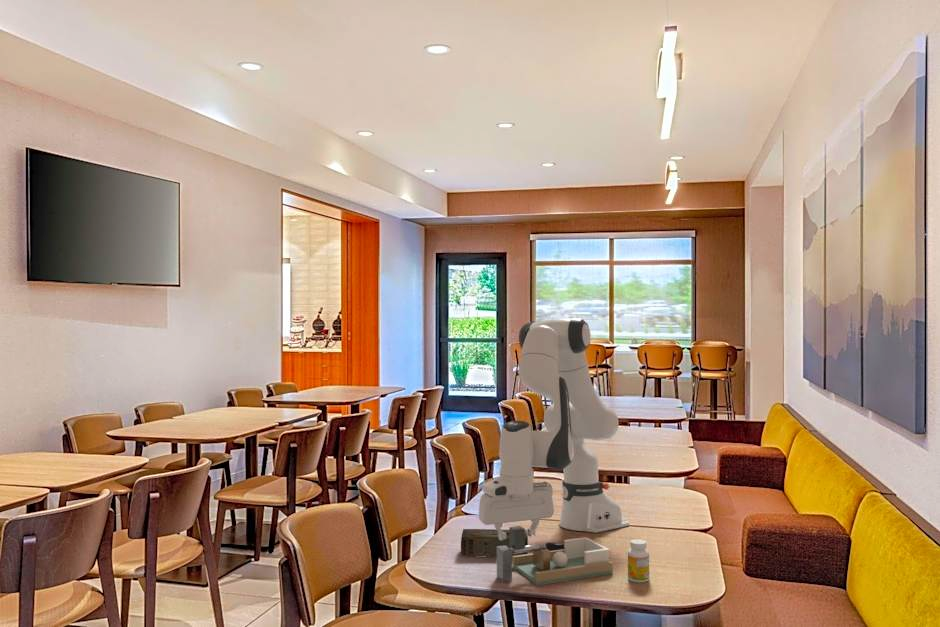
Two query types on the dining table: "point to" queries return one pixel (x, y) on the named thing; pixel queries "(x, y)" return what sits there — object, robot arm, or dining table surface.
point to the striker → (529, 548)
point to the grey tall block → (504, 563)
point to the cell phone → (554, 546)
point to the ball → (560, 559)
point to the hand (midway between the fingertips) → (517, 537)
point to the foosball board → (568, 563)
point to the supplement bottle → (638, 561)
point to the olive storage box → (485, 542)
